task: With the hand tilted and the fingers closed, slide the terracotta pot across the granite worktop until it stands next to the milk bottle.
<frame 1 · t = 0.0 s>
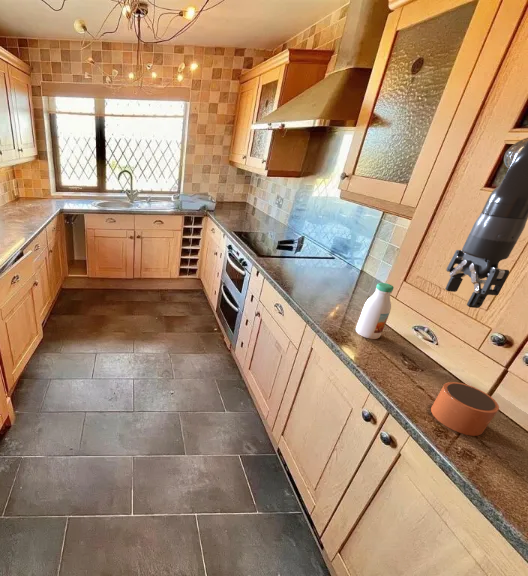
hand: (460, 298, 76), 30 cm above the countertop, tool pointing down, fingers open, 8 cm apart
terracotta pot: (455, 419, 80), on the countertop
milk bottle: (367, 333, 114), on the countertop
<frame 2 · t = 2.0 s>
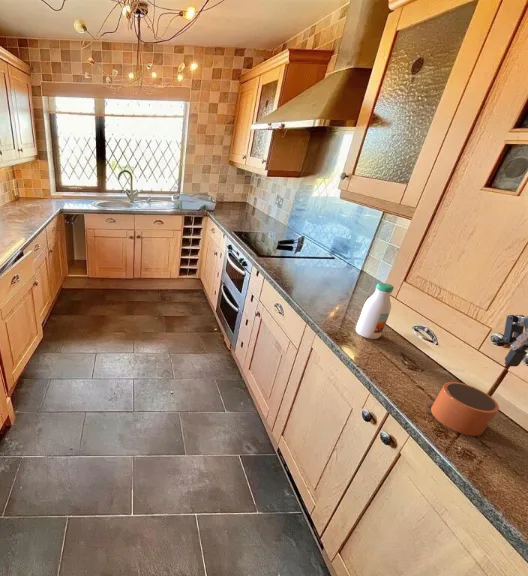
hand: (522, 372, 63), 22 cm above the countertop, tool pointing down, fingers open, 4 cm apart
nothing on the countertop moved.
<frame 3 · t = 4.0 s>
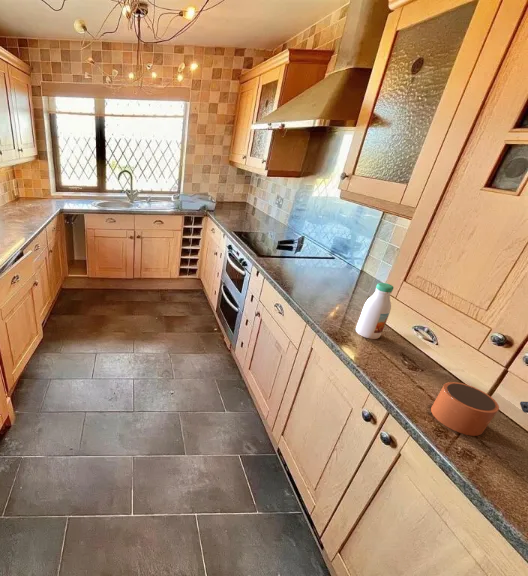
hand: (524, 407, 65), 15 cm above the countertop, tool tilted 45°, fingers closed
nothing on the countertop moved.
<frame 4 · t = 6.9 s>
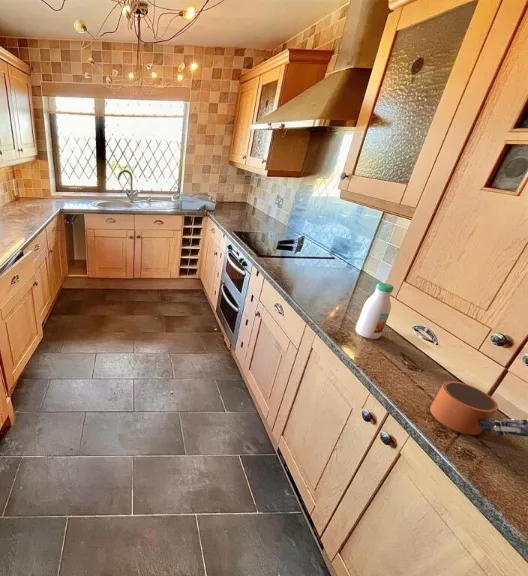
hand: (482, 425, 73), 4 cm above the countertop, tool tilted 45°, fingers closed
terracotta pot: (455, 418, 80), on the countertop, touching gripper
everything else where it was.
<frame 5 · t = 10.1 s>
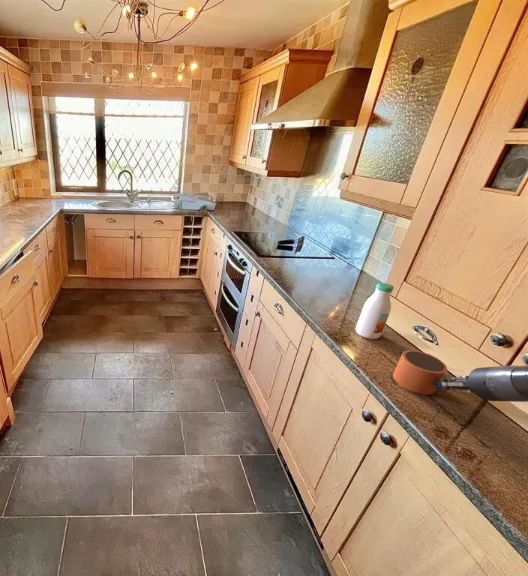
hand: (437, 385, 85), 4 cm above the countertop, tool tilted 45°, fingers closed
terracotta pot: (413, 382, 91), on the countertop, touching gripper
everything else where it was.
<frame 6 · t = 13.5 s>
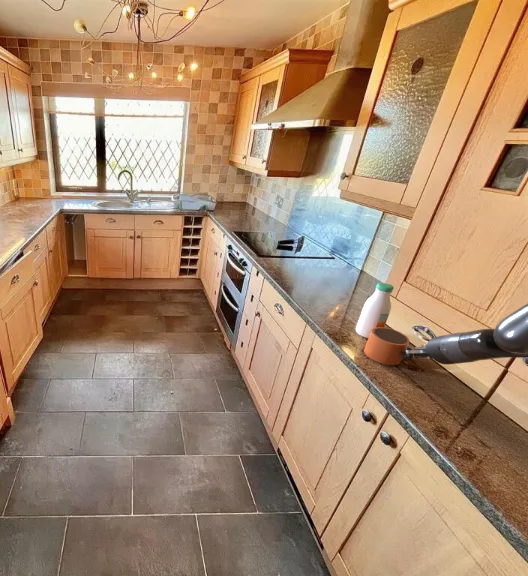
hand: (404, 355, 96), 4 cm above the countertop, tool tilted 45°, fingers closed
terracotta pot: (381, 355, 103), on the countertop, touching gripper
everything else where it was.
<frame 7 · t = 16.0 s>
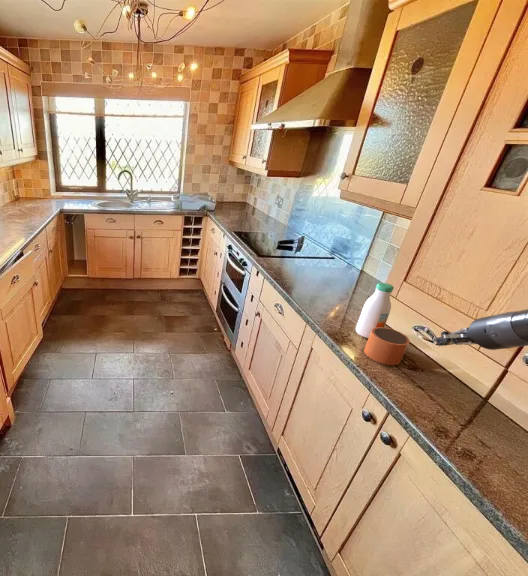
hand: (439, 341, 85), 15 cm above the countertop, tool tilted 45°, fingers closed
terracotta pot: (381, 355, 103), on the countertop
everything else where it was.
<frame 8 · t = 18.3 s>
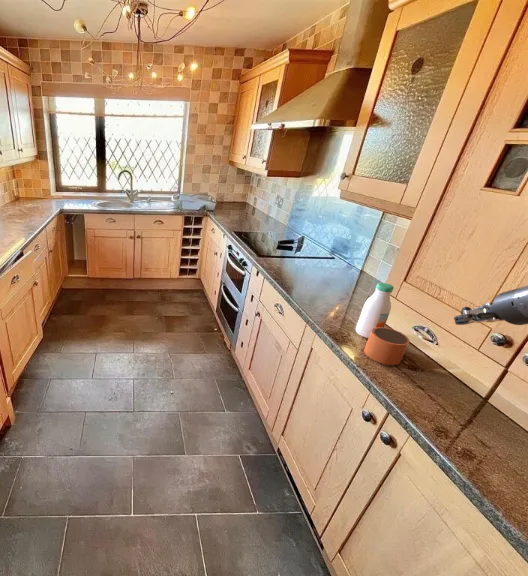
hand: (457, 320, 79), 23 cm above the countertop, tool tilted 45°, fingers closed
nothing on the countertop moved.
at the end: terracotta pot 13.0 cm from the milk bottle (horizontally); terracotta pot moved 25.7 cm from its start; terracotta pot tilted 0° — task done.
